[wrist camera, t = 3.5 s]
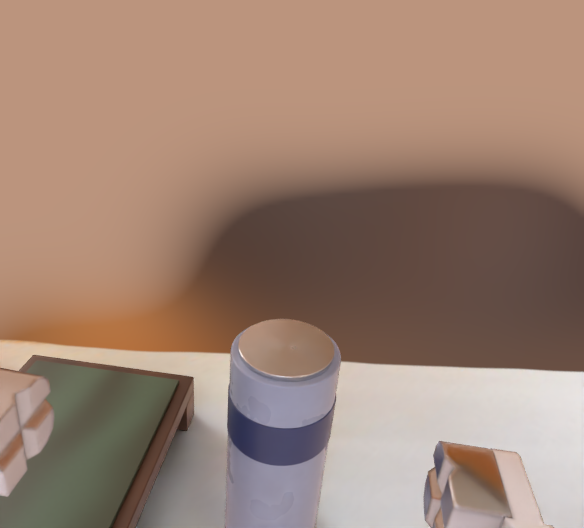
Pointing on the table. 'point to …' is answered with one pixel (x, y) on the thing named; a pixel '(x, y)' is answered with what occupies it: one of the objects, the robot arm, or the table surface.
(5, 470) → the robot arm
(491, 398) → the table surface
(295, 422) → the slim drink can
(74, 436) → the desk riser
